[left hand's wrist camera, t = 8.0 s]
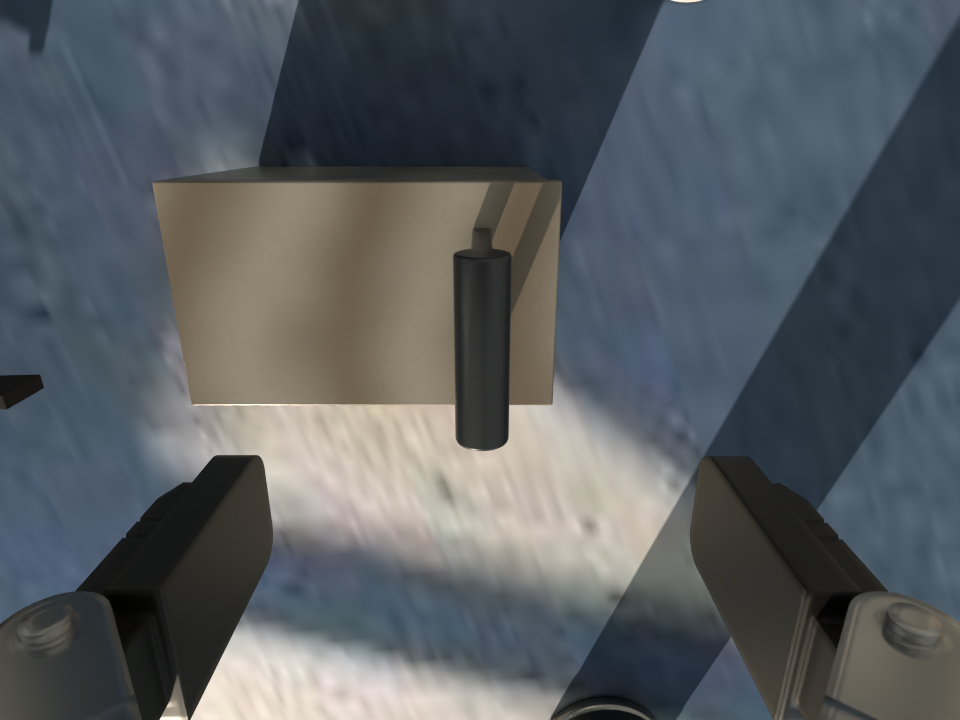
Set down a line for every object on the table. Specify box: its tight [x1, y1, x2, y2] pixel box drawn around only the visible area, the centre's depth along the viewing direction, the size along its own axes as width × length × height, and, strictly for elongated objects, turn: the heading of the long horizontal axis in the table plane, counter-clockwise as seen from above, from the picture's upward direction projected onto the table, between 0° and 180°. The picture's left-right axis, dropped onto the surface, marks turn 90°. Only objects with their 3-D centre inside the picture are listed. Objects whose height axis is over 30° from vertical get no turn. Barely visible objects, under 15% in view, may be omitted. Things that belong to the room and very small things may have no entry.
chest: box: [167, 167, 547, 180], centre depth 31 cm, size 15×9×10 cm, turn 90°
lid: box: [152, 180, 562, 451], centre depth 22 cm, size 16×9×8 cm, turn 90°
